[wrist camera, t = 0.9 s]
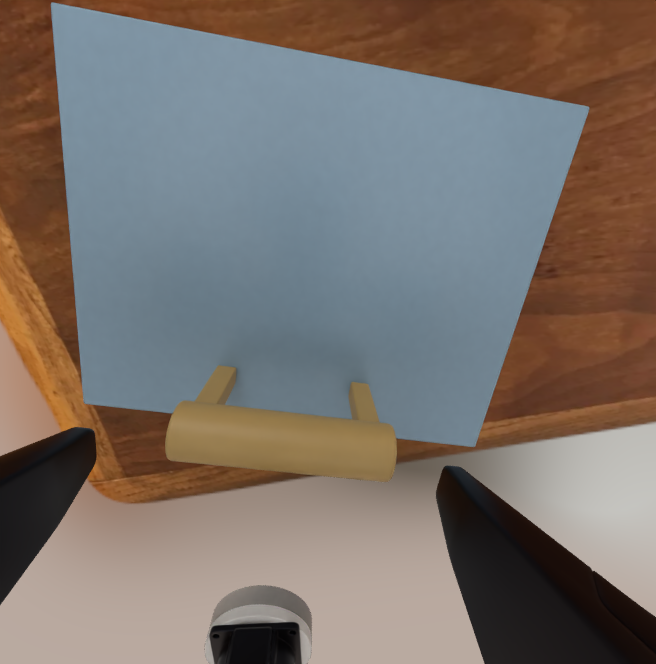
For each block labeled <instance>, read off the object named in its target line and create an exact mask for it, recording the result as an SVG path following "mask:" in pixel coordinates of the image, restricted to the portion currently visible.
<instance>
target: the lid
mask: <svg viewBox="0 0 656 664" xmlns="http://www.w3.org/2000/svg"><path fill="white" fill-rule="evenodd" d="M51 14H52V26H53V38H54V50H55V62H56V74H57V86H58V98H59V110H60V122H61V134H62V146H63V158H64V170H65V182H66V194H67V206H68V218H69V230H70V243H71V255H72V267H73V279H74V291H75V303H76V315H77V327H78V339H79V351H80V363H81V375H82V387H83V399H84V403H85V404H92V405H101V406H110V407H119V408H128V409H137V410H146V411H155V412H164V413H173V414H172V416H171V419H170V422H169V425H168V429H167V434H166V443H165V450H166V456H167V458H168V459H169V460H171V461H180V462H189V463H199V464H209V465H219V466H229V467H239V468H249V469H259V470H268V471H278V472H288V473H298V474H308V475H318V476H328V477H338V478H348V479H357V480H367V481H378V482H388V481H390V480H391V478H392V476H393V473H394V470H395V465H396V457H397V442H396V438H397V439H406V440H415V441H424V442H433V443H442V444H451V445H460V446H469V447H475V445H476V442H477V439H478V436H479V433H480V430H481V427H482V424H483V421H484V418H485V415H486V412H487V409H488V407H489V404H490V401H491V398H492V395H493V392H494V389H495V386H496V383H497V380H498V377H499V374H500V371H501V368H502V365H503V362H504V359H505V356H506V353H507V350H508V348H509V345H510V342H511V339H512V336H513V333H514V330H515V327H516V324H517V321H518V318H519V315H520V312H521V309H522V306H523V303H524V300H525V297H526V294H527V291H528V288H529V286H530V283H531V280H532V277H533V274H534V271H535V268H536V265H537V262H538V259H539V256H540V253H541V250H542V247H543V244H544V241H545V238H546V235H547V232H548V229H549V226H550V224H551V221H552V218H553V215H554V212H555V209H556V206H557V203H558V200H559V197H560V194H561V191H562V188H563V185H564V182H565V179H566V176H567V173H568V170H569V167H570V165H571V162H572V159H573V156H574V153H575V150H576V147H577V144H578V141H579V138H580V135H581V132H582V129H583V126H584V123H585V120H586V117H587V114H588V111H589V107H588V106H583V105H578V104H573V103H567V102H562V101H557V100H552V99H547V98H542V97H537V96H531V95H526V94H521V93H516V92H511V91H506V90H500V89H495V88H490V87H485V86H480V85H475V84H470V83H464V82H459V81H454V80H449V79H444V78H439V77H434V76H428V75H423V74H418V73H413V72H408V71H403V70H398V69H392V68H387V67H382V66H377V65H372V64H367V63H362V62H356V61H351V60H346V59H341V58H336V57H331V56H326V55H320V54H315V53H310V52H305V51H300V50H295V49H289V48H284V47H279V46H274V45H269V44H264V43H259V42H253V41H248V40H243V39H238V38H233V37H228V36H223V35H217V34H212V33H207V32H202V31H197V30H192V29H187V28H181V27H176V26H171V25H166V24H161V23H156V22H151V21H145V20H140V19H135V18H130V17H125V16H120V15H115V14H109V13H104V12H99V11H94V10H89V9H84V8H79V7H73V6H68V5H63V4H58V3H51Z"/></svg>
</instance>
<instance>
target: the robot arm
mask: <svg viewBox="0 0 656 664" xmlns="http://www.w3.org/2000/svg"><path fill="white" fill-rule="evenodd" d="M95 462H96V442H95V433H94V431H93V430H92V429H90V428H81V427H74V428H71V429H68V430H66V431H63V432H61V433H58V434H56V435H53V436H50V437H48V438H46V439H43V440H41V441H38V442H35V443H33V444H30V445H27V446H25V447H22V448H20V449H17V450H15V451H12V452H10V453H7V454H5V455H2V456H0V605H1V603H2V602H3V600H4V599H5V598H6V596H7V595H8V594H9V592H10V591H11V590H12V588H13V587H14V585H15V584H16V583H17V581H18V580H19V579H20V577H21V576H22V574H23V573H24V572H25V570H26V569H27V568H28V566H29V565H30V563H31V562H32V561H33V560H34V558H35V556H36V555H37V554H38V553H39V551H40V550H41V549H42V547H43V546H44V544H45V543H46V542H47V540H48V539H49V538H50V536H51V535H52V533H53V532H54V531H55V529H56V528H57V526H58V525H59V523H60V522H61V520H62V519H63V517H64V515H65V514H66V512H67V510H68V508H69V507H70V505H71V504H72V502H73V500H74V499H75V497H76V495H77V494H78V492H79V490H80V489H81V487H82V485H83V484H84V482H85V480H86V479H87V477H88V475H89V474H90V472H91V470H92V468H93V467H94V465H95ZM436 499H437V504H438V509H439V513H440V517H441V522H442V526H443V531H444V535H445V539H446V544H447V549H448V552H449V556H450V560H451V563H452V566H453V570H454V572H455V576H456V578H457V582H458V585H459V588H460V591H461V594H462V597H463V600H464V603H465V606H466V609H467V612H468V615H469V618H470V621H471V624H472V627H473V630H474V633H475V636H476V639H477V642H478V645H479V648H480V651H481V654H482V657H483V660H484V663H485V664H656V617H655V616H653V615H652V614H651V613H649V612H648V611H646V610H645V609H644V608H642V607H641V606H640V605H638V604H637V603H636V602H634V601H633V600H632V599H630V598H629V597H628V596H626V595H625V594H624V593H622V592H621V591H620V590H618V589H617V588H616V587H615V586H613V585H612V584H611V583H609V582H608V581H607V580H606V579H604V578H603V577H602V576H600V575H599V574H598V573H597V572H595V571H592V570H591V568H590V567H589V566H587V565H586V564H585V563H584V562H582V561H581V560H579V559H578V558H577V557H576V556H575V555H573V554H572V553H571V552H569V551H568V550H567V549H566V548H564V547H563V546H562V545H560V544H559V543H558V542H556V541H555V540H554V539H553V538H551V537H550V536H549V535H547V534H546V533H545V532H544V531H542V530H541V529H540V528H538V527H537V526H536V525H535V524H533V523H532V522H531V521H529V520H528V519H527V518H526V517H524V516H523V515H522V514H520V513H519V512H518V511H517V510H515V509H514V508H513V507H511V506H510V505H509V504H508V503H506V502H505V501H504V500H502V499H501V498H500V497H499V496H497V495H496V494H495V493H493V492H492V491H491V490H490V489H488V488H487V487H485V486H484V485H483V484H482V483H480V482H479V481H478V480H476V479H475V478H474V477H473V476H471V475H470V474H469V473H468V472H466V471H465V470H464V469H462V468H461V467H457V466H445V467H444V468H443V470H442V473H441V477H440V480H439V483H438V486H437V490H436ZM209 638H210V643H211V649H212V654H213V659H214V664H302V656H301V641H300V626H299V624H298V623H296V622H279V623H256V624H234V625H215V626H213V627H212V628H211V630H210V634H209Z"/></svg>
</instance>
